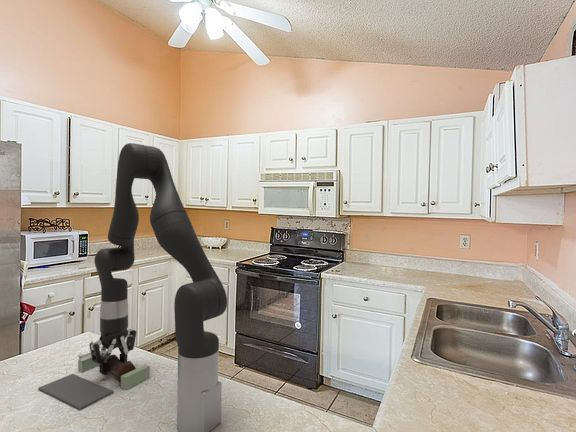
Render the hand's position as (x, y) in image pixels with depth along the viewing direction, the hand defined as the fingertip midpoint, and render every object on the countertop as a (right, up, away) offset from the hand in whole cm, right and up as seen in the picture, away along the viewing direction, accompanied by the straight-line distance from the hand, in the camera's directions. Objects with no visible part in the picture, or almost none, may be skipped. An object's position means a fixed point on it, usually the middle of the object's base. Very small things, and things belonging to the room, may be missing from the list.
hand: (113, 370), depth 100 cm
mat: (-5, -1, -10) cm, 11 cm away
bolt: (+1, -1, 0) cm, 1 cm away
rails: (-3, -1, +2) cm, 3 cm away
